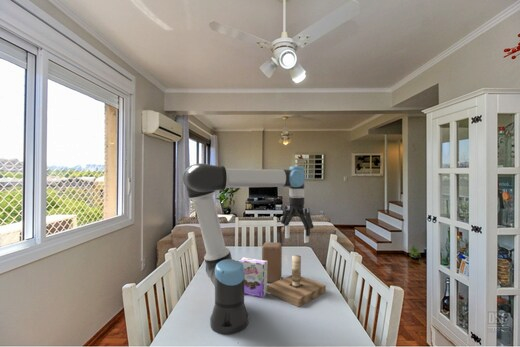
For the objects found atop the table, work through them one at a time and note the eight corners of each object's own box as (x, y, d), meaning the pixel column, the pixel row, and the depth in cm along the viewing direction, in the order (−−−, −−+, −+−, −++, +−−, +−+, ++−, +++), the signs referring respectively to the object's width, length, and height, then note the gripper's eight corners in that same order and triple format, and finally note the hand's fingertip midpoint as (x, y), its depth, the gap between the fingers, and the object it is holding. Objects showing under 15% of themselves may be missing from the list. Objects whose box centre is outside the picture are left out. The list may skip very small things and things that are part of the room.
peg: (296, 295, 128) (297, 258, 128) (289, 291, 131) (290, 256, 131) (302, 292, 131) (302, 256, 131) (295, 289, 135) (295, 254, 135)
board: (298, 307, 116) (298, 299, 116) (266, 292, 131) (266, 285, 131) (325, 292, 132) (325, 285, 132) (294, 280, 146) (294, 273, 146)
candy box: (237, 293, 130) (237, 260, 130) (242, 288, 135) (242, 256, 135) (263, 298, 124) (263, 263, 124) (267, 293, 130) (267, 260, 130)
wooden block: (279, 284, 141) (279, 247, 141) (261, 282, 143) (261, 246, 143) (281, 277, 150) (281, 242, 150) (264, 275, 152) (264, 241, 152)
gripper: (321, 198, 125) (320, 243, 125) (284, 195, 143) (283, 234, 143) (312, 199, 120) (311, 246, 120) (274, 195, 137) (274, 237, 137)
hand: (296, 240), depth 131 cm, fingers open, 11 cm apart
